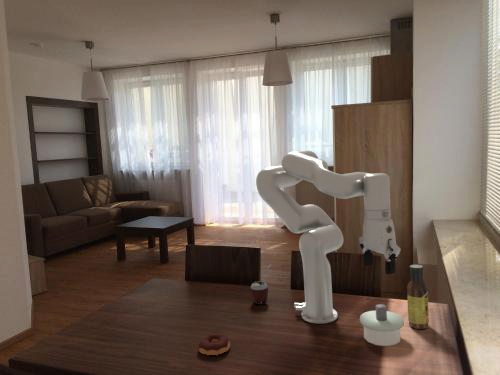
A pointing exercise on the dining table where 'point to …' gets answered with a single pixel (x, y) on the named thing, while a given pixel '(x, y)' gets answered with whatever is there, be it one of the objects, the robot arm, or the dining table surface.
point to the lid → (381, 319)
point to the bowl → (382, 337)
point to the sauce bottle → (417, 299)
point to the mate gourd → (260, 290)
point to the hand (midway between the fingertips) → (379, 269)
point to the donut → (214, 344)
